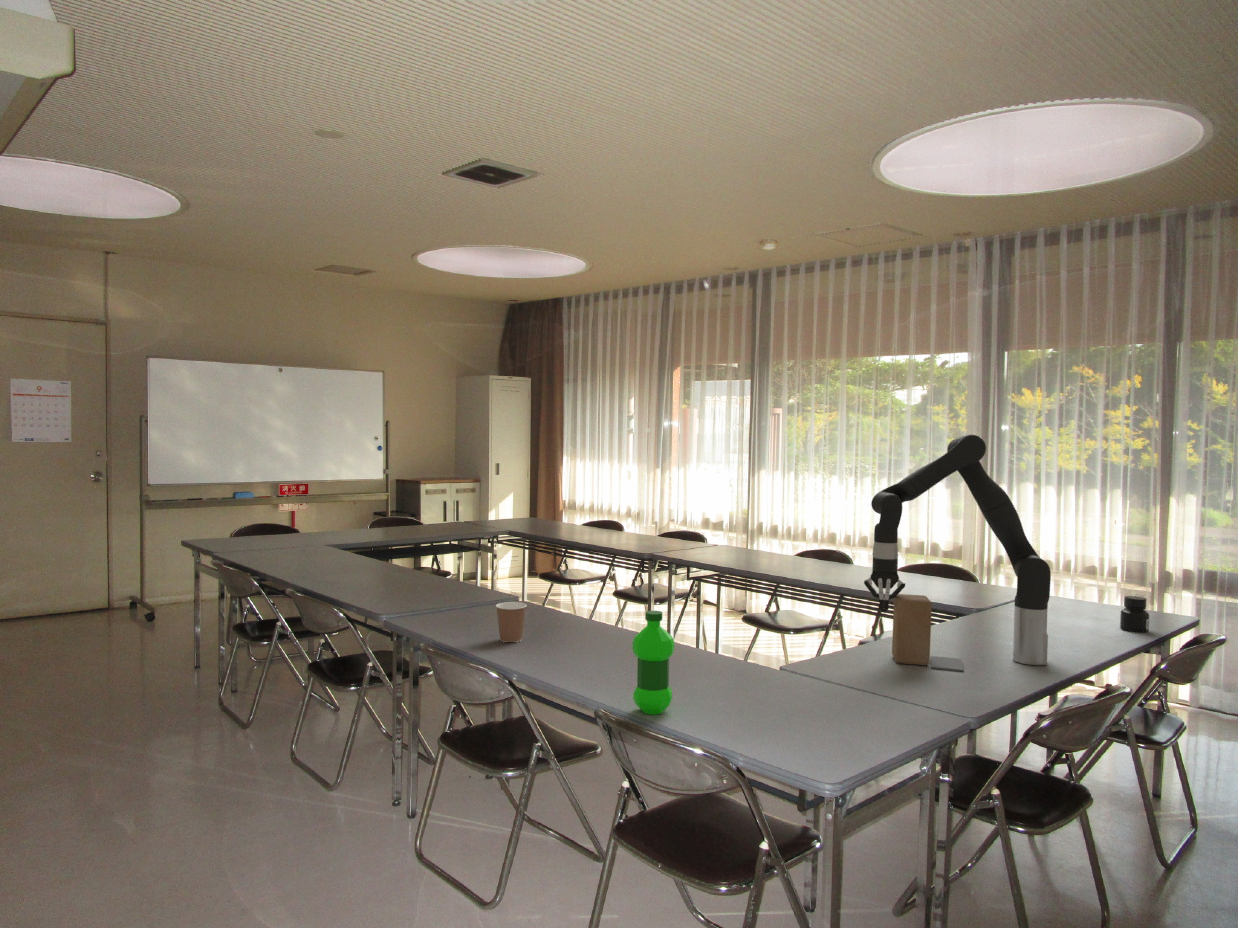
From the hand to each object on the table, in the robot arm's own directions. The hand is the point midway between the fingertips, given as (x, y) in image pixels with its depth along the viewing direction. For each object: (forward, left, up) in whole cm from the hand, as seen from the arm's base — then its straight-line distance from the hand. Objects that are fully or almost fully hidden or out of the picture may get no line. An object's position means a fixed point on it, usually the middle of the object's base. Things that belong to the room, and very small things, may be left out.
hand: (883, 611), depth 258 cm
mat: (-19, 0, -15) cm, 24 cm away
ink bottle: (-85, -75, -15) cm, 115 cm away
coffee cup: (+118, +25, -15) cm, 121 cm away
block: (-8, 0, -15) cm, 17 cm away
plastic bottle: (+53, +74, -15) cm, 92 cm away
